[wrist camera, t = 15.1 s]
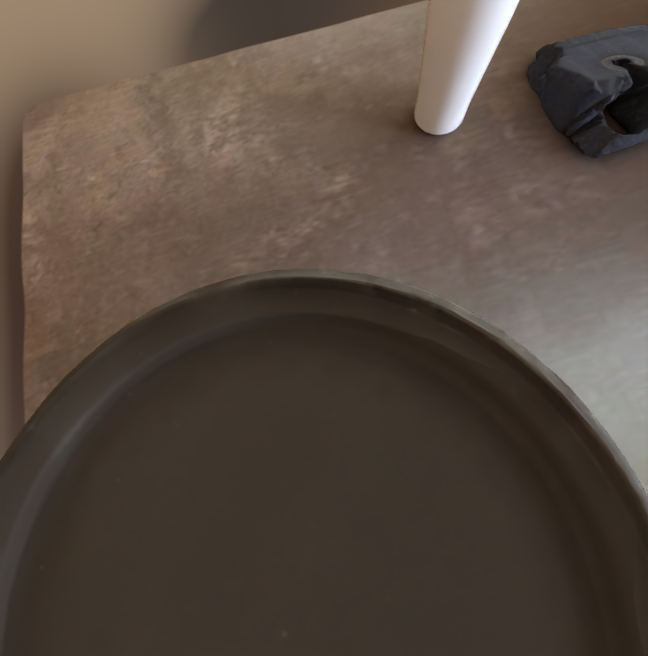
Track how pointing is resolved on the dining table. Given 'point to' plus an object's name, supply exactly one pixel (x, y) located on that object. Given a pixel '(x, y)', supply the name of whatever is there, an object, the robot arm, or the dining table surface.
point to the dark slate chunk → (596, 87)
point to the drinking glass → (457, 58)
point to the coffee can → (318, 488)
